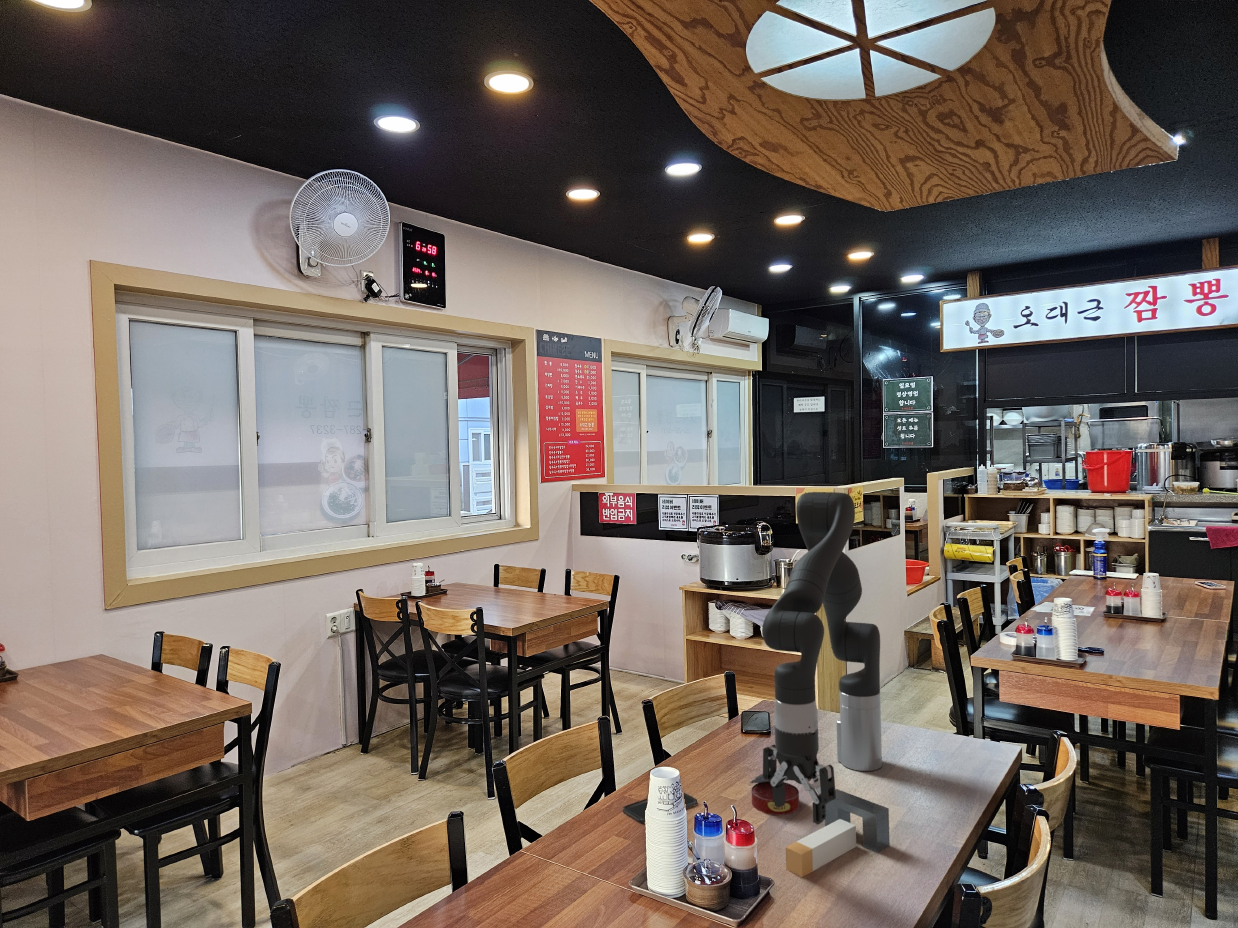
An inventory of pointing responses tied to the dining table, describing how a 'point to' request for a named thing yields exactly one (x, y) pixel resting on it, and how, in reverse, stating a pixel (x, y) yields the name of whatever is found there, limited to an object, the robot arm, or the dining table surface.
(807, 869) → the bar
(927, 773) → the dining table surface
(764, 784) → the canned food
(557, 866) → the dining table surface
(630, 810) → the phone
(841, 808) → the u-shaped slotted block
